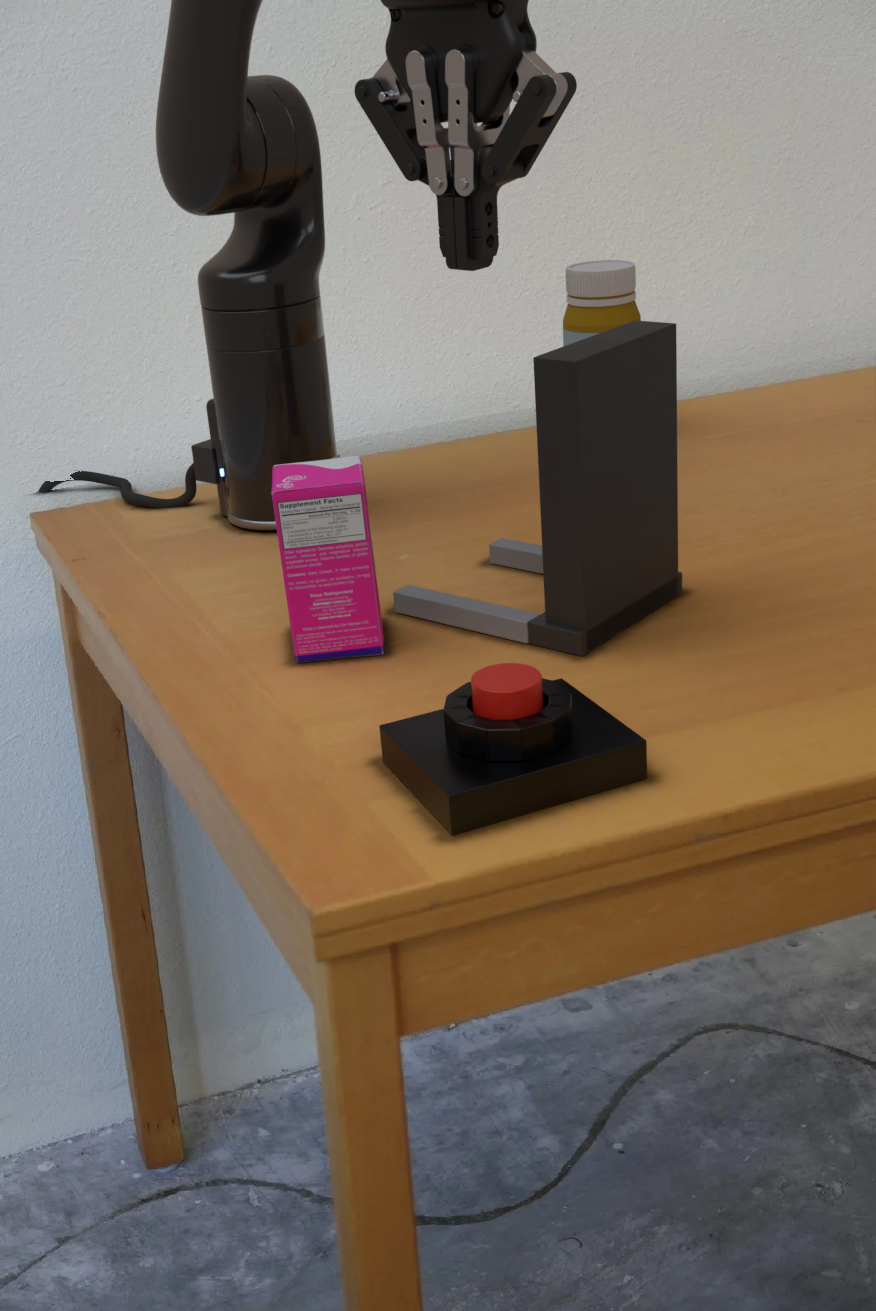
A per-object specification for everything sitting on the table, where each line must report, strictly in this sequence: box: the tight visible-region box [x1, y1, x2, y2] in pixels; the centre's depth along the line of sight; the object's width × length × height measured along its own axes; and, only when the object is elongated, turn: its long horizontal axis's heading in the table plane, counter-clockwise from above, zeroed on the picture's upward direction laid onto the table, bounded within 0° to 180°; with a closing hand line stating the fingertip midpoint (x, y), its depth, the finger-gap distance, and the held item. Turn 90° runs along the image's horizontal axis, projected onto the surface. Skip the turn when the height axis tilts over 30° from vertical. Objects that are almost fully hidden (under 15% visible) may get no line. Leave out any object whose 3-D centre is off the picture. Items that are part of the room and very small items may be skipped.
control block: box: [379, 677, 648, 836], centre depth 76 cm, size 11×9×4 cm
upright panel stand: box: [392, 320, 683, 657], centre depth 95 cm, size 15×12×18 cm
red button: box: [470, 662, 543, 720], centre depth 75 cm, size 4×4×2 cm
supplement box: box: [271, 455, 385, 664], centre depth 92 cm, size 6×6×12 cm
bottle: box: [562, 259, 642, 347], centre depth 134 cm, size 7×7×15 cm
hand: (469, 267), depth 77 cm, fingers closed
